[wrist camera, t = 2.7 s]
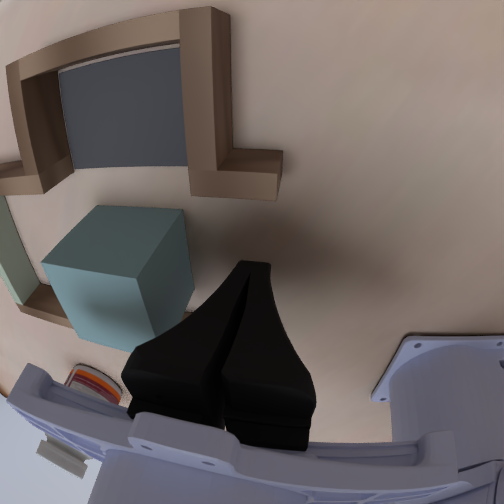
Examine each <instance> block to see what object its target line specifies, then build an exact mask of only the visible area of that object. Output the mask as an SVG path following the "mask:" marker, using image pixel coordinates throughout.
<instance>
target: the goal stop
mask: <svg viewBox="0 0 504 504" xmlns="http://www.w3.org/2000/svg"><path fill="white" fill-rule="evenodd" d="M0 275H1V277H2V279H3V281H4V283H5V285H6V287H7V288H8V290H9V292H10V294H11V296H12V297H13V299H14V301H15V303H18V304H21V305H23V304H24V303H25V302H26V300H27V299H28V298H29V297H30V295H31V294H32V293H33V292H34V290H35V289H36V288H37V287H38V285H39V284H40V282H39V280H38V278H37V276H36V274H35V272H34V270H33V268H32V266H31V263H30V261H29V259H28V257H27V254H26V252H25V250H24V247H23V245H22V243H21V240H20V238H19V235H18V233H17V230H16V228H15V225H14V222H13V220H12V217H11V214H10V211H9V209H8V206H7V203H6V200H5V197H4V196H0Z"/></svg>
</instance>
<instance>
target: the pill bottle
mask: <svg viewBox="0 0 504 504" xmlns="http://www.w3.org/2000/svg"><path fill="white" fill-rule="evenodd" d="M64 385H65V386H68V387H70V388H73V389H75V390H78V391H80V392H83V393H85V394H88V395H91V396H93V397H96V398H99V399H102V400H105V401H107V402H110V403H113V404H116V405H118V404H119V402H120V399H121V396H122V393H121V390H120V389H119V387H118V386H117V385H116V384H115V383H114V382H113V381H112V380H111V379H110V378H108V377H107V376H106V375H104V374H102V373H101V372H99V371H97V370H95V369H92V368H90V367H87V366H82V365H78V366H75V367H74V368H73V369H72V371H71V372H70V374H69V376H68V378H67V380H66V382H65V383H64ZM45 435H46V436H47V442H46V441H44V440H41V442H40V445H39V448H38V449H37V452H36V454H38V455H39V456H40V457H42V458H44V459H45V460H47V461H48V462H50V463H52V464H53V465H55V466H57V467H58V468H60V469H62V470H64V471H66V472H67V473H69V474H71V475H74V476H75V477H77V478H80V479H82V478H83V476H84V474H85V471H86V469H87V465H86V464H85V463H84V461H85V460H86V459H93V458H92V457H90V456H88V455H86V454H84V453H82V452H80V451H78V450H76V449H74V448H72V447H71V446H69V445H67V444H65V443H63V442H61V441H60V440H58V439H56V438H54V437H52V436H51V435H49V434H47V433H45Z"/></svg>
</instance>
